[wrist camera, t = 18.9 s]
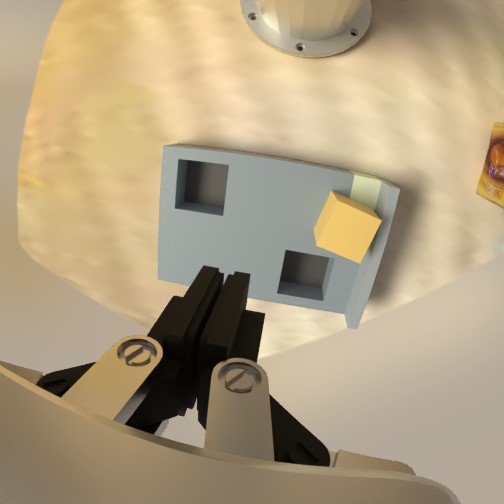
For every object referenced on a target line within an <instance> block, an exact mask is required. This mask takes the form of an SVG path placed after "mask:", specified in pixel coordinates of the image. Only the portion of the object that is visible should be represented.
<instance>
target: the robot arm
mask: <svg viewBox="0 0 504 504" xmlns="http://www.w3.org/2000/svg"><path fill="white" fill-rule="evenodd" d="M240 4H241V10H242V14H243V16H244V18H245V21H246V23H247V24H248V26H249V28H250V29H251V30H252V31H253V33H254V34H255V35H256V36H257V37H258V38H259V39H260V40H262V41H263V42H264V43H266V44H267V45H269V46H271V47H272V48H274V49H276V50H278V51H281V52H284V53H286V54H289V55H294V56H299V57H310V58H318V57H327V56H331V55H334V54H338V53H341V52H343V51H345V50H347V49H349V48H350V47H352V46H353V45H354V44H355V43H357V42H358V41H359V40H360V39H361V37H362V36H363V35H364V34H365V32H366V30H367V29H368V27H369V24H370V21H371V18H372V4H371V0H240ZM254 17H255V18H256V19H255V20H251V19H252V18H254ZM351 33H354V34H355V36H353V35H351ZM299 47H301V48H303V50H302V51H299V50H298V48H299ZM250 275H251V274H249V273H244V272H238V271H235V272H234V275H232V274H228V276H227V278H226V280H225V283H224V273H221V272H219V268H216V267H211V266H205V265H203V267H202V268H201V270H200V271H199V273H198V274H197V276H196V278H195V279H194V281H193V282H192V284H191V286H190V287H189V289H188V290H187V292H186V294H185V295H184V297H179V296H173V297H172V299H171V300H170V302H169V303H168V305H167V306H166V308H165V309H164V311H163V312H162V314H161V315H160V317H159V318H158V320H157V321H156V323H155V324H154V326H153V327H152V329H151V330H150V332H149V333H148V335H147V336H142V335H133V336H128V337H125V338H122V339H121V340H119V341H118V342H116V343H115V344H114V345H113V346H112V347H111V348H110V349H109V350H108V351H107V352H106V353H105V354H104V355H103V356H102V357H101V358H100V359H99V360H98V361H97V362H93V363H89V364H85V365H81V366H77V367H73V368H69V369H64V370H60V371H55V372H52V373H49V374H46V375H45V376H43V374H42V372H39V371H35V370H31V369H28V368H24V367H20V366H16V365H13V364H10V363H6V362H3V361H0V504H461V503H460V501H459V500H458V498H457V496H456V495H455V494H454V493H453V492H452V491H451V490H450V489H449V488H447V487H446V486H444V485H442V484H440V483H438V482H435V481H433V480H430V479H427V478H423V477H420V476H416V474H415V473H414V471H413V469H412V468H411V467H409V466H408V465H407V464H405V463H402V462H398V461H392V460H386V459H381V458H375V457H370V456H366V455H361V454H356V453H352V452H347V451H343V450H339V451H338V452H333V451H329V450H328V449H327V448H326V447H325V445H324V444H323V443H322V442H321V441H320V440H319V439H317V438H316V437H315V436H314V435H313V434H312V433H311V432H310V431H308V430H307V429H306V428H305V427H304V426H303V425H302V424H301V423H300V422H298V421H297V420H296V419H295V418H294V417H293V416H292V415H291V414H290V413H289V412H288V411H287V410H285V409H284V408H283V407H282V406H281V405H280V404H279V403H278V402H277V401H276V400H275V399H274V398H273V397H272V396H271V395H270V394H269V385H268V377H267V374H266V372H265V371H264V369H263V368H262V367H261V366H259V365H258V364H257V358H258V352H259V347H260V341H261V335H262V330H263V324H264V318H265V313H261V312H255V311H249V310H246V303H247V297H248V290H249V283H250ZM223 283H224V285H223ZM196 398H197V410H198V421H199V422H200V424H201V425H202V426H203V428H204V429H205V430H206V434H205V445H204V449H203V448H199V447H196V446H192V445H187V444H184V443H180V442H176V441H173V440H169V439H166V438H162V437H160V436H161V435H162V433H163V432H164V430H165V429H166V427H167V425H168V419H170V418H172V417H175V416H177V415H179V416H184V415H185V413H186V410H187V408H190V409H193V407H194V405H195V402H196Z"/></svg>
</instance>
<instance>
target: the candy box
mask: <svg viewBox="0 0 504 504" xmlns="http://www.w3.org/2000/svg"><path fill="white" fill-rule="evenodd" d="M476 193H477V194H478V195H480V196H482V197H484V198H486V199H487V200H489V201H491V202H492V203H494V204H496V205H498V206H500V207H502V208H504V123H494V127H493V131H492V135H491V140H490V145H489V149H488V152H487V156H486V160H485V164H484V168H483V172H482V175H481V178H480V181H479V185H478V188H477V191H476Z"/></svg>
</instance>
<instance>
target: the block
mask: <svg viewBox="0 0 504 504" xmlns="http://www.w3.org/2000/svg"><path fill="white" fill-rule="evenodd" d="M381 222H382V220H381V219H380V218H379V217H378V216H377V215H376V213H375V212H374V211H373V210H372V209H371V208H370V207H368V206H365V205H363V204H361V203H359V202H357V201H355V200H352V199H350V198H348V197H346V196H344V195H341V194H339V193H337V192H334V191H332V190H331V192H330V194H329V197H328V199H327V201H326V203H325V206H324V208H323V210H322V212H321V215H320V217H319V219H318V221H317V223H316V226H315V228H314V235H315V241H316V246H318V247H321V248H323V249H326V250H328V251H331V252H333V253H335V254H338V255H340V256H343V257H345V258H348V259H350V260H352V261H355V262H357V263H359V264H360V262H361V261H362V259H363V257H364V255H365V253H366V251H367V249H368V247H369V245H370V243H371V241H372V239H373V238H374V236H375V234H376V232H377V230H378V228H379V226H380V224H381Z"/></svg>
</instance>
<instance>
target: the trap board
mask: <svg viewBox="0 0 504 504" xmlns="http://www.w3.org/2000/svg"><path fill="white" fill-rule="evenodd" d="M331 190H332V191H334V192H337V193H339V194H341V195H344V196H346V197H348V198H350V199H352V200H355V201H357V202H359V203H361V204H363V205H365V206H368V207H370V208H371V209H372V210H373V211H374V212H375V213H376V215H377V216H378V217H379V218H380V219H381V220H382V222H381V224H380V226H379V228H378V230H377V232H376V234H375V236H374V238H373V239H372V241H371V243H370V245H369V247H368V249H367V251H366V253H365V255H364V257H363V259H362V261H361V262H360V264H359V263H357V262H355V261H352V260H350V259H348V258H345V257H343V256H340V255H338V254H335V253H333V252H331V251H328V250H326V249H323V248H321V247H318V246H316V241H315V235H314V228H315V226H316V223H317V221H318V219H319V217H320V215H321V212H322V210H323V208H324V206H325V203H326V201H327V199H328V197H329V194H330V192H331ZM399 193H400V189H399V188H398V187H396V186H395V185H393V184H391V183H390V182H388V181H387V180H385V179H383V178H380V177H376V176H372V175H367V174H363V173H359V172H354V171H350V170H345V169H341V168H336V167H331V166H326V165H321V164H316V163H311V162H306V161H300V160H295V159H289V158H283V157H277V156H271V155H264V154H258V153H251V152H244V151H236V150H229V149H221V148H212V147H203V146H193V145H183V144H171V145H166V146H163V158H162V172H161V188H160V207H159V237H158V279H159V280H163V281H168V282H173V283H177V284H182V285H187V286H191V284H192V282H193V281H194V279H195V278H196V276H197V274H198V273H199V271H200V270H201V268H202V267H203V265H205V266H211V267H216V268H219V272H221V273H224V283H225V280H226V278H227V276H228V274H232V275H234V272H235V271H238V272H244V273H249V274H251V275H250V283H249V290H248V297H247V298H253V299H258V300H264V301H269V302H275V303H281V304H286V305H292V306H298V307H304V308H310V309H317V310H323V311H329V312H336V313H342V314H345V318H346V323H347V328H352V329H357V328H358V325H359V323H360V320H361V317H362V315H363V312H364V309H365V307H366V304H367V301H368V298H369V295H370V292H371V289H372V286H373V284H374V281H375V278H376V274H377V271H378V268H379V265H380V262H381V259H382V255H383V252H384V249H385V245H386V242H387V239H388V235H389V231H390V228H391V224H392V221H393V217H394V213H395V209H396V205H397V201H398V197H399ZM224 283H223V285H224Z"/></svg>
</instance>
